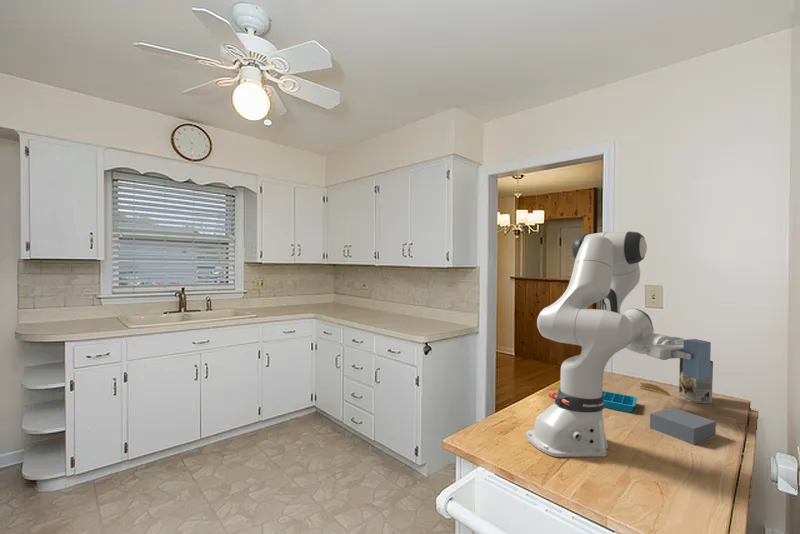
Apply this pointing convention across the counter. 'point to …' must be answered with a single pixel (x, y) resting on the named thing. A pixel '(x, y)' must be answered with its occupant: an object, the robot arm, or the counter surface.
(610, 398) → the ice cube tray
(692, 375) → the slate-blue block
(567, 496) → the counter surface
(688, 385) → the coffee box
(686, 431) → the charcoal block
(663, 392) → the shard
